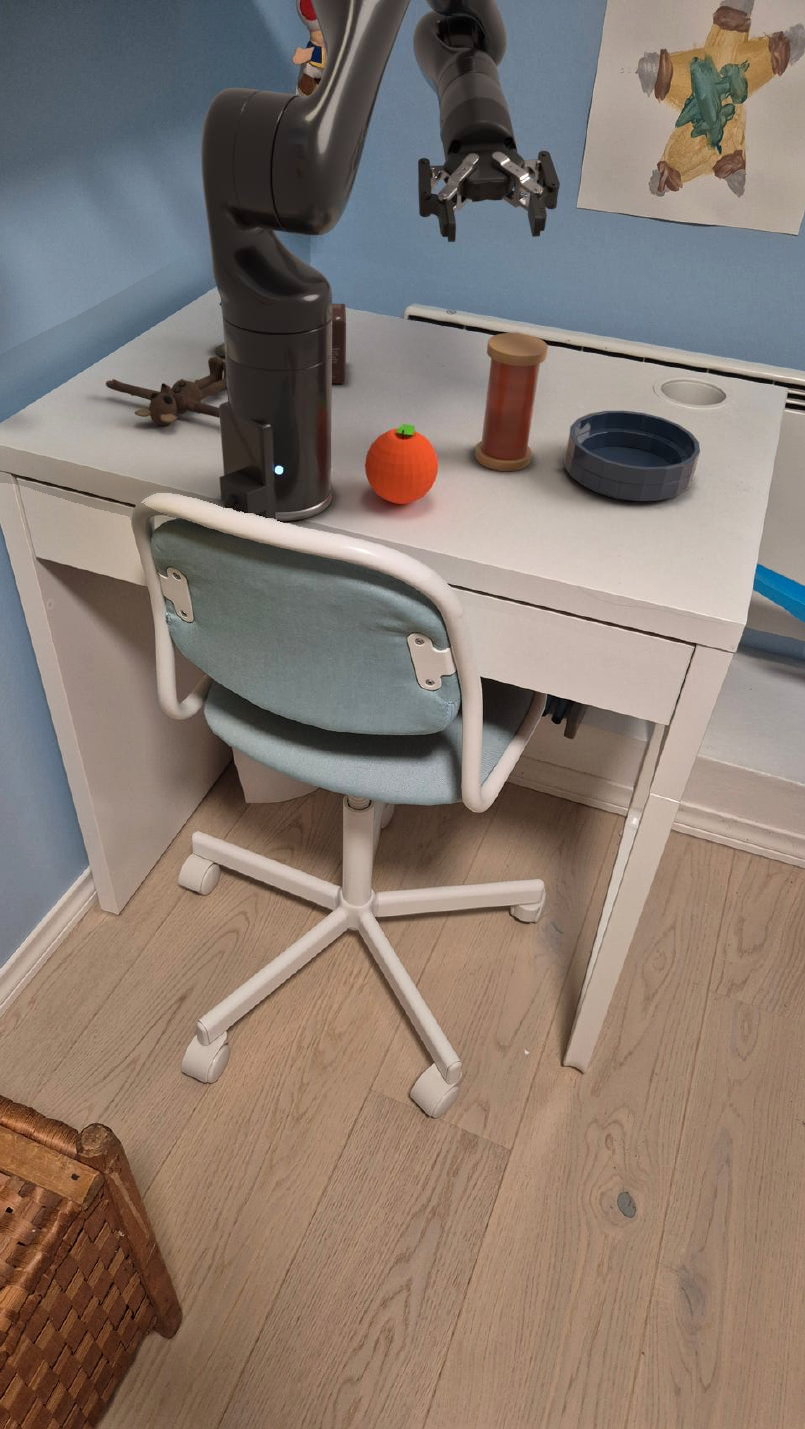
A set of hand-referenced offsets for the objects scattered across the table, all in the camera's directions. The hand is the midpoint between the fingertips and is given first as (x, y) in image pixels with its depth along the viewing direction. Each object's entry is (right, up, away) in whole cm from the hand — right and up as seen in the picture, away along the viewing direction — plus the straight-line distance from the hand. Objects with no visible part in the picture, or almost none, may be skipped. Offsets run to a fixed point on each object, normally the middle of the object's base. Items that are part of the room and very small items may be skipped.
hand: (495, 231), depth 97 cm
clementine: (-9, -27, -2) cm, 29 cm away
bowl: (+14, -23, +4) cm, 27 cm away
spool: (+1, -21, +5) cm, 22 cm away
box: (-19, -8, +19) cm, 28 cm away
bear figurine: (-33, -14, +11) cm, 37 cm away
